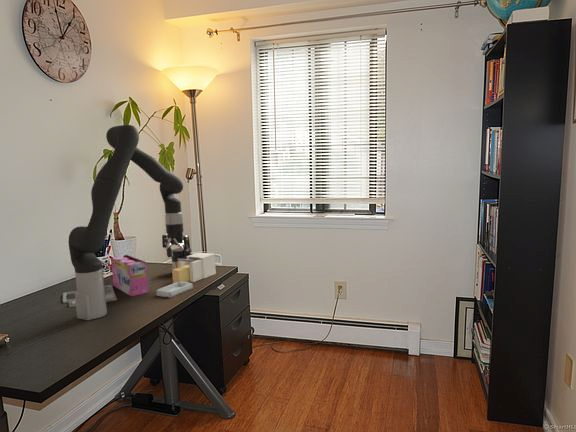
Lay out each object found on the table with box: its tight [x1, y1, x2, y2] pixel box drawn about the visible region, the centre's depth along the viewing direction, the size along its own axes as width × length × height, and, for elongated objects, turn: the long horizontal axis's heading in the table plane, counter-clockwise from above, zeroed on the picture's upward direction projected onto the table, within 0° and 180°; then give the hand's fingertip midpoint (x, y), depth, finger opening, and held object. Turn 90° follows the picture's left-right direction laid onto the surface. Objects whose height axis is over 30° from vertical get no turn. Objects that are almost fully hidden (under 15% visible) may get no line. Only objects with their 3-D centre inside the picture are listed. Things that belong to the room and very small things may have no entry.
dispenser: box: [177, 252, 217, 283], centre depth 208 cm, size 16×10×10 cm, turn 152°
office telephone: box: [62, 284, 118, 308], centre depth 183 cm, size 23×3×20 cm
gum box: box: [110, 254, 149, 297], centre depth 192 cm, size 24×8×14 cm, turn 41°
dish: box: [155, 281, 194, 299], centre depth 185 cm, size 14×8×2 cm, turn 152°
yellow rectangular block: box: [171, 265, 191, 284], centre depth 200 cm, size 10×4×7 cm, turn 152°
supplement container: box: [170, 247, 193, 271], centre depth 217 cm, size 10×10×12 cm
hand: (177, 257), depth 196 cm, fingers open, 8 cm apart
